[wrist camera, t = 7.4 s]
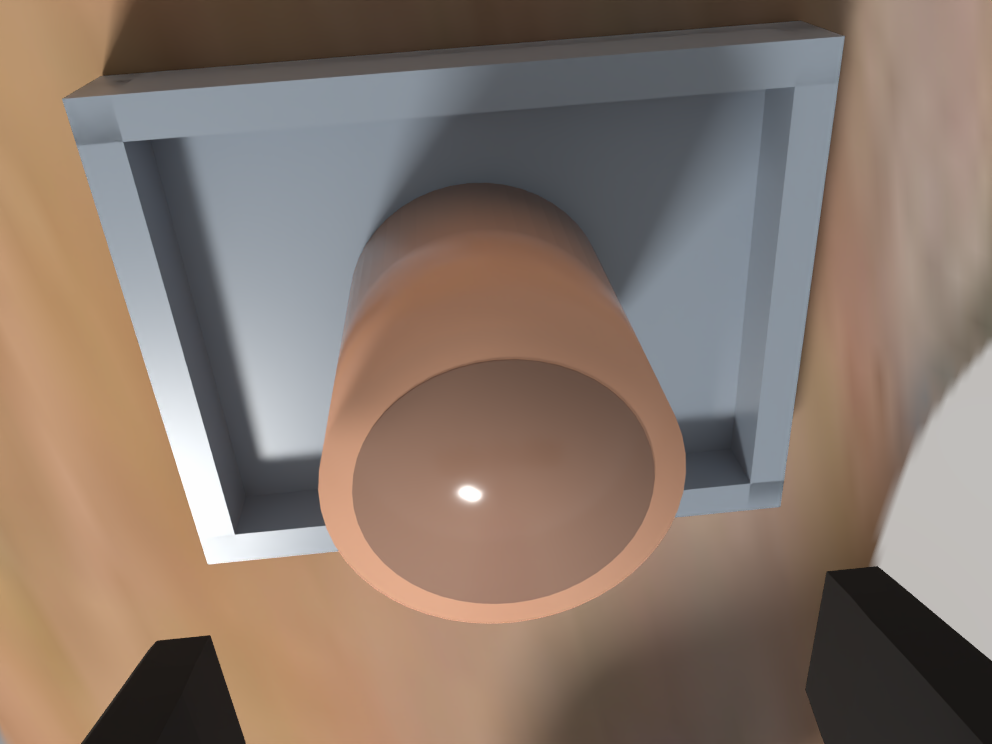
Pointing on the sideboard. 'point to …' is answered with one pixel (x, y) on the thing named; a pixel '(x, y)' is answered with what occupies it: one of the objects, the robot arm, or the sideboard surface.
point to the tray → (446, 162)
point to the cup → (493, 415)
